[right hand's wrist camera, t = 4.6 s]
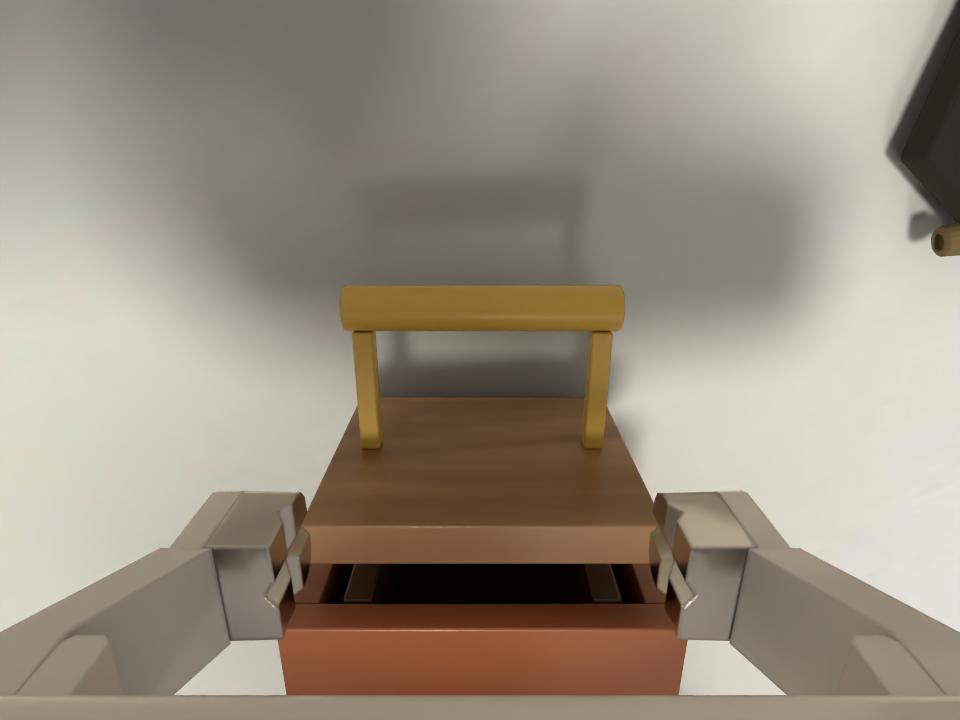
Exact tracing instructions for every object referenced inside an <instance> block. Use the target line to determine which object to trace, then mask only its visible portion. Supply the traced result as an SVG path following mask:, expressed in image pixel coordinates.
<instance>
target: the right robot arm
mask: <svg viewBox="0 0 960 720" xmlns="http://www.w3.org/2000/svg"><path fill="white" fill-rule="evenodd" d="M653 514H654V517H655V519H656V521H657V523H658V526H657V527H656V528H655V529H654V531H653V532H652V533H651V534H650V541H649V562H650V569H651V573H652V577H653V580H654V583H655V585H656V588H657V589H658V590H660V591H661V592H662V593H664V594H665V595H666V601H665V610H666V613H667V615H668V618H669V620H670V623H671V625H672V628H673V630H674V632H675V635H676V637H677V639H682V640H718V641H730V644H731V645H732V646H733V647H734V648H735V649H737V650H738V651H739V652H740V653H741V654H742V655H743V656H744V657H745V658H747V659H748V660H749V661H750V662H751V663H752V664H753V665H754V666H755V667H757V668H758V669H759V670H760V671H761V672H762V673H763V674H764V675H765V676H766V677H768V678H769V679H770V680H771V681H772V682H773V683H774V684H775V685H776V686H778V687H779V688H780V689H781V690H782V691H783V692H784V693H785V694H786V695H174V694H175V693H176V692H177V691H178V690H179V689H180V688H182V687H183V686H184V685H185V684H186V683H187V682H188V681H189V680H190V679H192V678H193V677H194V676H195V675H196V674H197V673H198V672H199V671H201V670H202V669H203V668H204V667H205V666H206V665H207V664H208V663H209V662H211V661H212V660H213V659H214V658H215V657H216V656H217V655H218V654H219V653H221V652H222V651H223V650H224V649H225V648H226V647H227V646H228V645H229V644H230V641H242V640H276V639H283V638H284V635H285V633H286V630H287V628H288V625H289V623H290V620H291V618H292V616H293V613H294V611H295V600H294V595H295V594H297V593H298V592H299V591H301V590H302V589H303V588H304V585H305V583H306V580H307V577H308V574H309V568H310V562H311V540H310V534H309V533H308V532H307V530H306V529H305V528H304V527H303V526H302V523H303V521H304V519H305V517H306V515H307V508H306V502H305V497H304V496H303V494H302V493H301V492H266V491H246V492H244V491H218V492H214V493H212V494H211V495H210V497H209V498H208V499H207V500H206V502H205V503H204V504H203V506H202V507H201V508H200V509H199V511H198V512H197V513H196V515H195V516H194V517H193V518H192V520H191V521H190V522H189V524H188V525H187V526H186V527H185V529H184V530H183V531H182V532H181V534H180V535H179V536H178V538H177V539H176V540H175V541H174V543H173V544H172V545H171V547H170V548H160V549H158V550H156V551H154V552H152V553H150V554H148V555H147V556H145V557H143V558H141V559H139V560H137V561H135V562H133V563H131V564H129V565H128V566H126V567H124V568H122V569H120V570H118V571H116V572H114V573H112V574H110V575H108V576H107V577H105V578H103V579H101V580H99V581H97V582H95V583H93V584H91V585H89V586H88V587H86V588H84V589H82V590H80V591H78V592H76V593H74V594H72V595H70V596H69V597H67V598H65V599H63V600H61V601H59V602H57V603H55V604H53V605H51V606H49V607H48V608H46V609H44V610H42V611H40V612H38V613H36V614H34V615H32V616H30V617H29V618H27V619H25V620H23V621H21V622H19V623H17V624H15V625H13V626H11V627H9V628H8V629H6V630H4V631H2V632H0V720H960V632H958V631H956V630H954V629H952V628H950V627H948V626H946V625H944V624H943V623H941V622H939V621H937V620H935V619H933V618H931V617H929V616H927V615H925V614H924V613H922V612H920V611H918V610H916V609H914V608H912V607H910V606H908V605H906V604H905V603H903V602H901V601H899V600H897V599H895V598H893V597H891V596H889V595H888V594H886V593H884V592H882V591H880V590H878V589H876V588H874V587H872V586H870V585H869V584H867V583H865V582H863V581H861V580H859V579H857V578H855V577H853V576H851V575H850V574H848V573H846V572H844V571H842V570H840V569H838V568H836V567H834V566H832V565H831V564H829V563H827V562H825V561H823V560H821V559H819V558H817V557H815V556H813V555H812V554H810V553H808V552H806V551H804V550H802V549H800V548H790V547H789V545H788V544H787V543H786V541H785V540H784V539H783V538H782V536H781V535H780V534H779V532H778V531H777V530H776V529H775V527H774V526H773V525H772V524H771V522H770V521H769V520H768V518H767V517H766V516H765V515H764V513H763V512H762V511H761V510H760V508H759V507H758V506H757V504H756V503H755V502H754V501H753V499H752V498H751V497H750V496H749V494H748V493H746V492H744V491H715V492H686V493H657V496H656V498H655V501H654V508H653Z"/></svg>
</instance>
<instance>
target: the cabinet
mask: <svg viewBox="0 0 960 720" xmlns="http://www.w3.org/2000/svg"><path fill="white" fill-rule="evenodd" d="M353 565H354V564H310V568H309V574H308V577H307V580H306V583H305V585H304V588H303V589H302V590H301V591H299V592H298V593H297V594H295V595H294V600H295V611H294V613H293V616H292V618H291V620H290V623H289V625H288V628H287V630H286V633H285V635H284V638H283V639H278V644H279V650H280V656H281V663H282V669H283V675H284V681H285V687H286V694H287V695H678V694H679V688H680V682H681V676H682V670H683V664H684V658H685V652H686V646H687V640H682V639H677V637H676V635H675V632H674V630H673V628H672V625H671V623H670V620H669V618H668V615H667V613H666V610H665V601H666V595H665V594H664V593H662V592H661V591H660V590H658V589H657V588H656V585H655V583H654V580H653V577H652V573H651V569H650V564H611V567H612V570H613V573H614V576H615V579H616V582H617V586H618V589H619V592H620V595H621V598H622V604H343V598H344V595H345V592H346V589H347V585H348V582H349V579H350V575H351V572H352V569H353Z"/></svg>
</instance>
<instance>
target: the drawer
mask: <svg viewBox="0 0 960 720" xmlns="http://www.w3.org/2000/svg"><path fill="white" fill-rule="evenodd" d="M624 314H625V298H624V293H623V289H622V287H621V286H619V285H346V286H344V287H343V289H342V292H341V296H340V317H341V322H342V325H343V328H344V329H345V330H346V331H354V332H353V333H352V340H353V352H354V364H355V377H356V389H357V401H358V405H357V408H356V410H355V412H354V414H353V416H352V418H351V420H350V422H349V424H348V427H347V429H346V431H345V433H344V435H343V437H342V439H341V441H340V443H339V445H338V448H337V450H336V452H335V454H334V456H333V458H332V460H331V462H330V464H329V467H328V469H327V471H326V473H325V475H324V477H323V479H322V481H321V483H320V486H319V488H318V490H317V492H316V494H315V496H314V498H313V500H312V502H311V505H310V507H309V509H308V511H307V515H306V517H305V519H304V521H303V523H302V526H303V527H304V528H305V529H306V530H307V532H308V533H309V534H310V540H311V562H310V564H354V565H353V569H352V572H351V575H350V579H349V582H348V585H347V589H346V592H345V595H344V598H343V604H622V598H621V595H620V592H619V589H618V586H617V582H616V579H615V576H614V573H613V570H612V567H611V564H650V562H649V541H650V534H651V533H652V532H653V531H654V529H655V528H656V527H657V526H658V523H657V521H656V519H655V517H654V514H653V508H654V502H653V500H652V498H651V496H650V494H649V492H648V490H647V488H646V486H645V484H644V482H643V480H642V478H641V476H640V474H639V472H638V470H637V468H636V466H635V464H634V461H633V459H632V457H631V455H630V453H629V451H628V449H627V447H626V445H625V443H624V441H623V439H622V437H621V435H620V433H619V431H618V429H617V427H616V425H615V423H614V421H613V418H612V416H611V414H610V412H609V410H608V408H607V406H606V405H607V394H608V382H609V370H610V358H611V347H612V332H611V331H618V330H620V329H621V327H622V325H623V321H624ZM375 331H589V340H588V354H587V369H586V383H585V397H380V393H379V378H378V363H377V348H376V333H375Z"/></svg>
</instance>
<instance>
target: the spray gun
mask: <svg viewBox="0 0 960 720" xmlns="http://www.w3.org/2000/svg"><path fill="white" fill-rule="evenodd" d="M901 160H902V162H903V163H904V164H905V165H906V166H907V167H908V168H909V169H910V170H911V172H912V173H913V174H914V175H915V176H916V177H917V178H918V179H919V180H920V182H921V183H922V184H923V185H924V186H925V187H926V188H927V189H928V190H929V191H930V193H931V194H932V195H933V196H934V197H935V198H936V199H937V200H938V201H939V203H940V204H941V205H942V206H943V207H944V208H945V209H946V210H947V211H948V213H949V214H950V215H951V216H952V217H953V218H954V219H955V220H956V221H957V223H955V224H950V225H947V226H943V227H939V228H937V229H936V230H935V231H934V233H933V234H932V237H931V244H932V249H933V251H934V252H935V253H936V255H938V256H940V257H943V256H955V255H960V30H959V32H958V34H957V36H956V38H955V40H954V43H953V45H952V47H951V49H950V51H949V53H948V55H947V57H946V59H945V61H944V63H943V65H942V68H941V70H940V72H939V74H938V76H937V78H936V81H935V83H934V85H933V87H932V89H931V92H930V94H929V96H928V98H927V100H926V102H925V105H924V107H923V109H922V111H921V113H920V115H919V118H918V120H917V122H916V124H915V126H914V129H913V131H912V133H911V135H910V137H909V139H908V142H907V144H906V146H905V148H904V150H903V152H902V155H901Z"/></svg>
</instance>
